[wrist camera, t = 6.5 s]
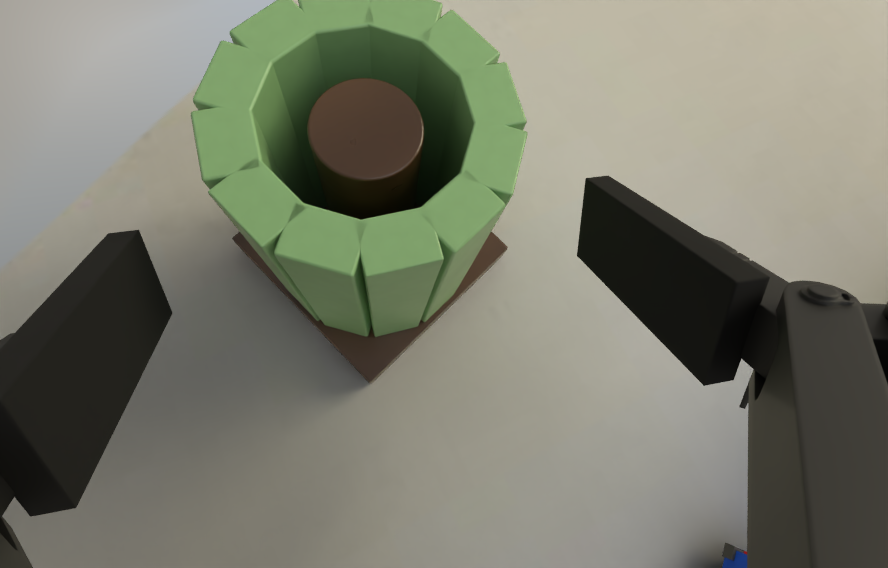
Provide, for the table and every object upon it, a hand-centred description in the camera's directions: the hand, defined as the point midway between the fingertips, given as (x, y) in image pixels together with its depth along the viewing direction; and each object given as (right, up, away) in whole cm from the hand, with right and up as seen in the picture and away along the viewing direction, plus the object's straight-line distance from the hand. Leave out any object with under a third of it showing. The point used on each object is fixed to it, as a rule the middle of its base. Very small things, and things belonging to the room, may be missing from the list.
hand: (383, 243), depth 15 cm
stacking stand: (-2, 0, +9) cm, 9 cm away
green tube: (-1, +1, +8) cm, 8 cm away
